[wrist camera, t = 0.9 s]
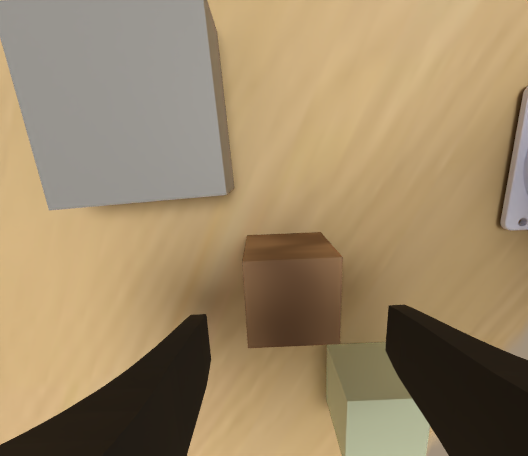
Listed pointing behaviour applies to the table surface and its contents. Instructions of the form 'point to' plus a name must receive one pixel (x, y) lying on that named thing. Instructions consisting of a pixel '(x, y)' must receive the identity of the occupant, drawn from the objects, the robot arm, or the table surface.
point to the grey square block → (120, 98)
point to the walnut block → (292, 290)
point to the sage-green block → (372, 404)
